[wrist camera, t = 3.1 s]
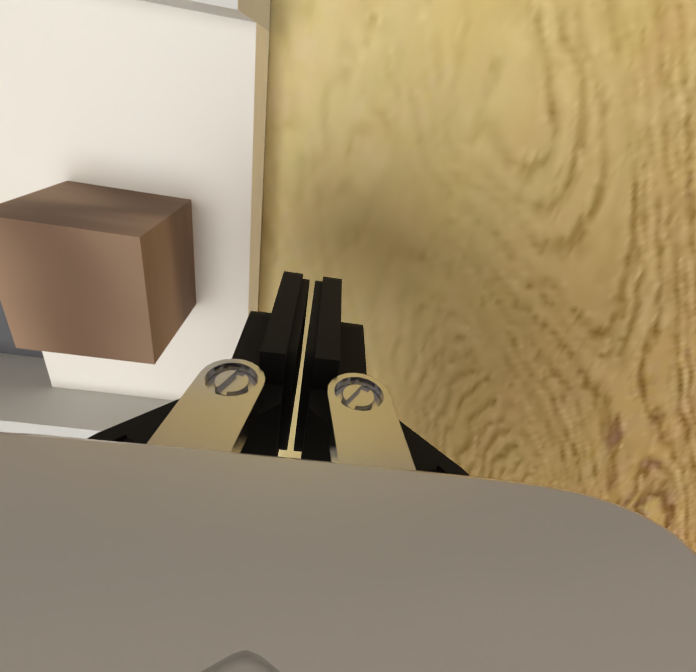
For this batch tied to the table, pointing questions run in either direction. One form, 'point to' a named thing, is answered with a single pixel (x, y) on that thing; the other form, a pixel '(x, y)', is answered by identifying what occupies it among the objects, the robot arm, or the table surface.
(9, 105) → the tray
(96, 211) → the walnut block
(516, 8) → the table surface
